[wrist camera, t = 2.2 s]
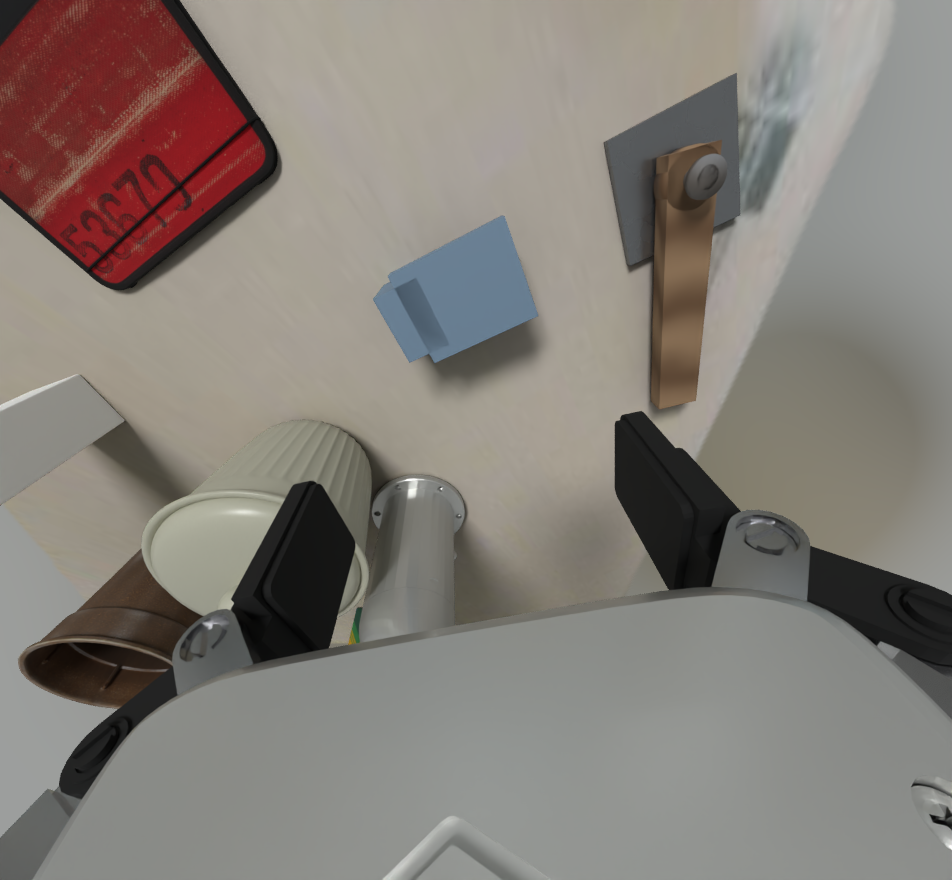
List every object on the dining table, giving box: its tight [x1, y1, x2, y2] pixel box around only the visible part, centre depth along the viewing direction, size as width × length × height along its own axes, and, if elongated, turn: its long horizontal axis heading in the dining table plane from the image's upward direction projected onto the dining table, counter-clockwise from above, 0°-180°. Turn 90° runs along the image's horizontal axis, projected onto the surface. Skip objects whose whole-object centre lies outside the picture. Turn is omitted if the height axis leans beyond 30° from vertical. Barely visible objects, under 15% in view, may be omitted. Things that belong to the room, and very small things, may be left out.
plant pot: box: [18, 548, 204, 709], centre depth 47 cm, size 16×16×16 cm
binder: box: [0, 0, 277, 290], centre depth 28 cm, size 16×2×21 cm
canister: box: [141, 419, 372, 618], centre depth 37 cm, size 18×18×21 cm
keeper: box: [373, 216, 538, 363], centre depth 33 cm, size 8×12×6 cm, turn 114°
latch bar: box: [651, 140, 727, 409], centre depth 34 cm, size 23×4×4 cm, turn 14°
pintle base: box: [604, 73, 740, 266], centre depth 31 cm, size 10×10×1 cm
